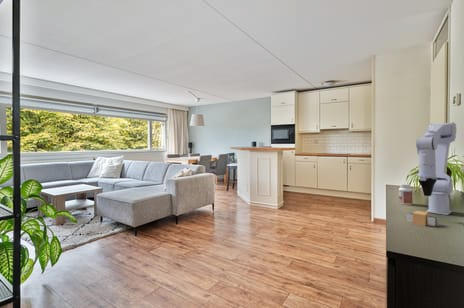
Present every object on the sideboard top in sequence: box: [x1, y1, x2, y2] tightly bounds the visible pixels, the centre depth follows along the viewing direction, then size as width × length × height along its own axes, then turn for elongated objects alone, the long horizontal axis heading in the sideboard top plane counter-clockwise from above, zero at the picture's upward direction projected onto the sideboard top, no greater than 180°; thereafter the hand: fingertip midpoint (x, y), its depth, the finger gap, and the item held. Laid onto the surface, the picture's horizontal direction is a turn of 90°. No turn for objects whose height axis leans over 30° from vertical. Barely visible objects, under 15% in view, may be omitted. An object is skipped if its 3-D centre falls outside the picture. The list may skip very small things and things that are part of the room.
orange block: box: [412, 210, 430, 227], centre depth 98 cm, size 6×4×4 cm
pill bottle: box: [398, 183, 413, 206], centre depth 133 cm, size 6×6×11 cm
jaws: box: [404, 211, 440, 227], centre depth 99 cm, size 4×11×3 cm, turn 38°
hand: (427, 195), depth 105 cm, fingers closed
